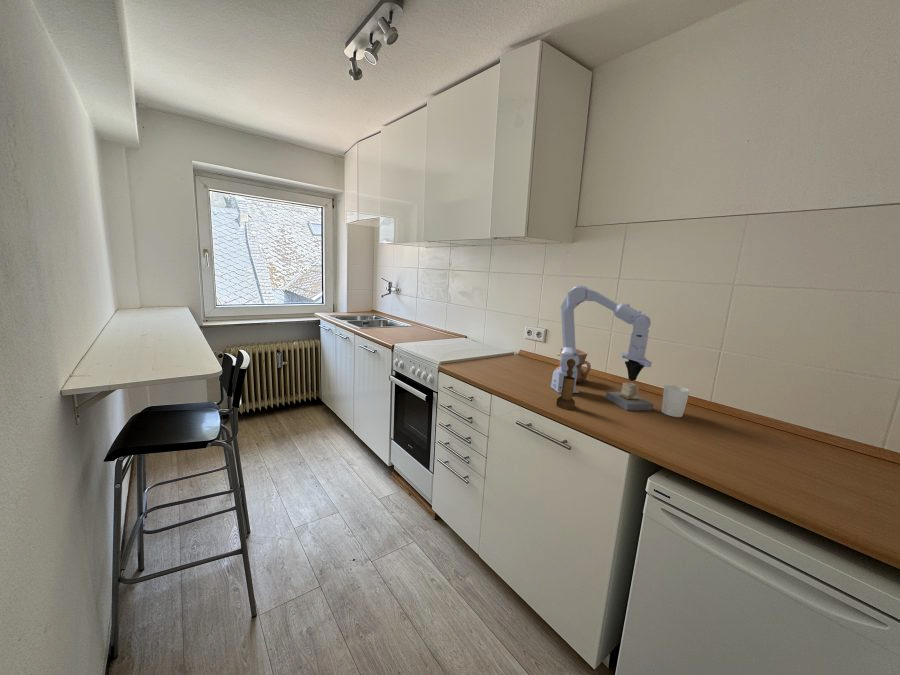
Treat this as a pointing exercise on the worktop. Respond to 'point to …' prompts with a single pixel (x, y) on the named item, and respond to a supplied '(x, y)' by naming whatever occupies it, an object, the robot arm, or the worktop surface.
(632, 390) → the peg
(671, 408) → the white cup
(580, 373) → the ceramic jug
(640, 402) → the socket board
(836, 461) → the worktop surface
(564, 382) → the brown capped rod
